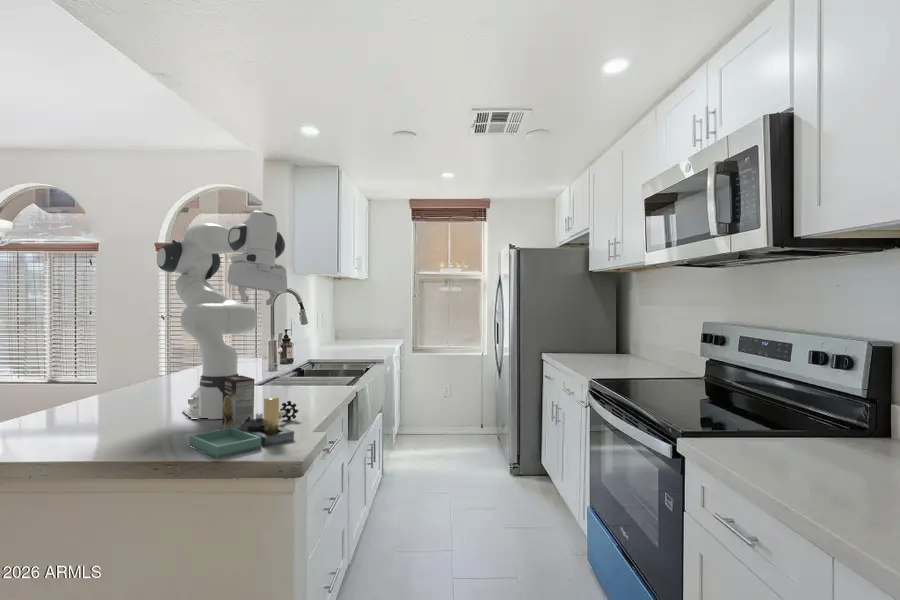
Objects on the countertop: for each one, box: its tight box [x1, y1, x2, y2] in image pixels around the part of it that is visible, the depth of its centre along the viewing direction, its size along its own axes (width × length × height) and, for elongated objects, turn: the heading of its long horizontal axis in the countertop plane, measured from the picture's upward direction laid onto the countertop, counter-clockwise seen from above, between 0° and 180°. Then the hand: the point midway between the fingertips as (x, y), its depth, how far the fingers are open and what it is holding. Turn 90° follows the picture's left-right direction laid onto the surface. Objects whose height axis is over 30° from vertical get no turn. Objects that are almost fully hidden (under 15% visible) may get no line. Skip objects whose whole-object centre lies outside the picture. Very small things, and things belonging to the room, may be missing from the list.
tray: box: [188, 427, 262, 459], centre depth 135 cm, size 16×12×3 cm
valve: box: [279, 400, 299, 421], centre depth 161 cm, size 7×7×12 cm
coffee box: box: [221, 375, 255, 429], centre depth 154 cm, size 9×6×16 cm
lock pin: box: [263, 396, 280, 435], centre depth 142 cm, size 4×4×12 cm
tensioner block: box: [238, 413, 295, 448], centre depth 144 cm, size 15×9×6 cm, turn 51°
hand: (257, 303), depth 156 cm, fingers open, 8 cm apart
